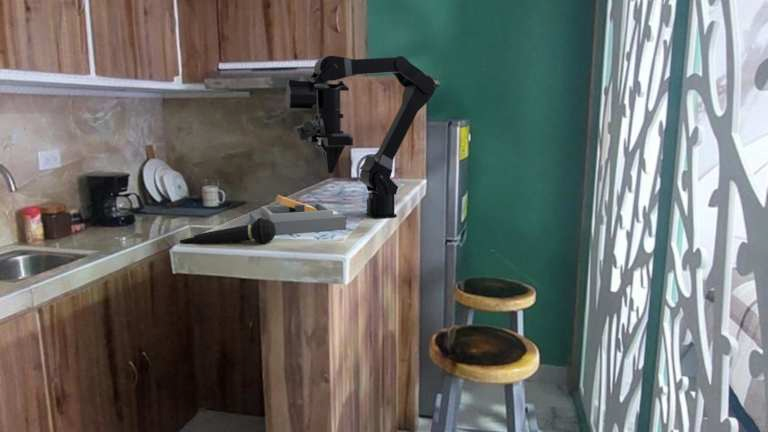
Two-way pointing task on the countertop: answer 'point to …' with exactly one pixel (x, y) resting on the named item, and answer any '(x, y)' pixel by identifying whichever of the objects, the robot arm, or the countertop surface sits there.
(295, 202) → the plate
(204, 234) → the microphone
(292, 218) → the switch panel
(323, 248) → the countertop surface
